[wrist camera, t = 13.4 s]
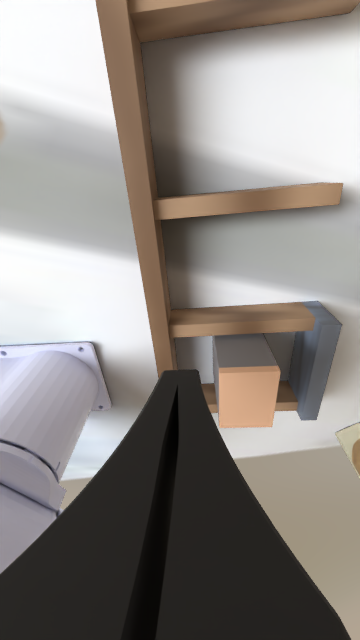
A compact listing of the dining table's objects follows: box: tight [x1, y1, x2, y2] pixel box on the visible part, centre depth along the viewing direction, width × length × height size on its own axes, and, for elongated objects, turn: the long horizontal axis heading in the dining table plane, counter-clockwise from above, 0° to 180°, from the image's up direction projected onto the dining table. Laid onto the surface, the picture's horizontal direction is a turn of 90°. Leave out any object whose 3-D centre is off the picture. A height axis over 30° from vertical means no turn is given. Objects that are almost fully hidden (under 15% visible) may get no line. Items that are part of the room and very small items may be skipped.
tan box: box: [213, 333, 281, 428], centre depth 19 cm, size 4×5×6 cm
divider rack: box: [96, 0, 360, 420], centre depth 16 cm, size 12×25×4 cm, turn 5°
